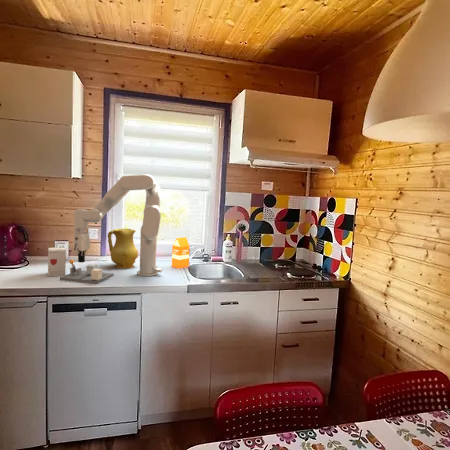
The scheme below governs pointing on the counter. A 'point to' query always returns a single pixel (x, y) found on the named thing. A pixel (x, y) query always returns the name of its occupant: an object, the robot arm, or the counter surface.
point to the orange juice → (180, 253)
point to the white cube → (90, 268)
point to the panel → (84, 277)
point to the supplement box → (56, 261)
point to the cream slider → (96, 274)
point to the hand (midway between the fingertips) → (81, 262)
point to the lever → (73, 265)
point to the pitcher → (123, 248)
